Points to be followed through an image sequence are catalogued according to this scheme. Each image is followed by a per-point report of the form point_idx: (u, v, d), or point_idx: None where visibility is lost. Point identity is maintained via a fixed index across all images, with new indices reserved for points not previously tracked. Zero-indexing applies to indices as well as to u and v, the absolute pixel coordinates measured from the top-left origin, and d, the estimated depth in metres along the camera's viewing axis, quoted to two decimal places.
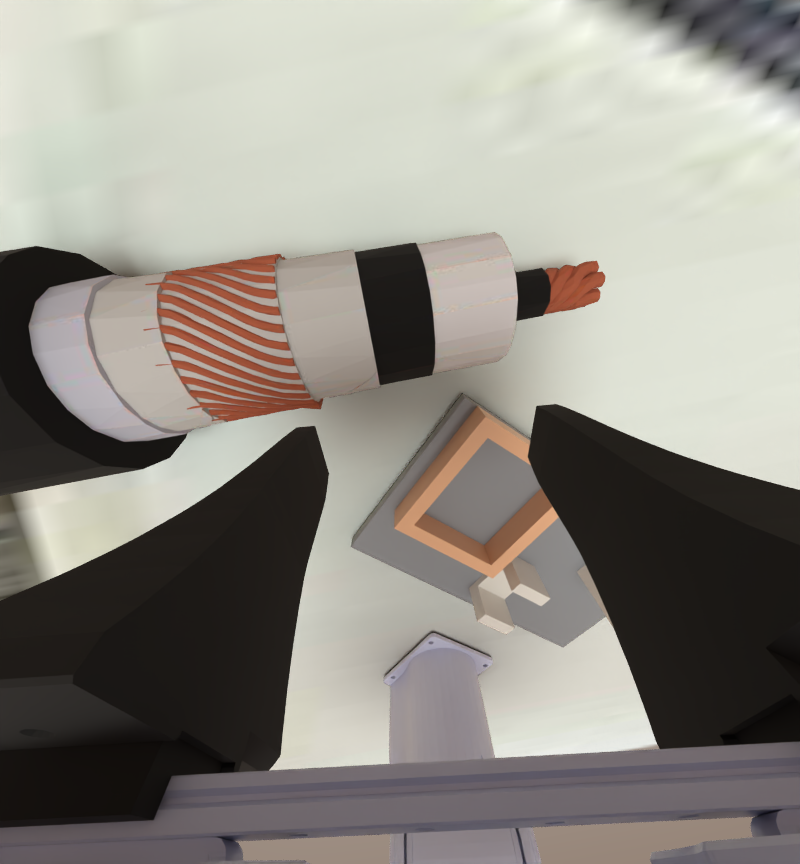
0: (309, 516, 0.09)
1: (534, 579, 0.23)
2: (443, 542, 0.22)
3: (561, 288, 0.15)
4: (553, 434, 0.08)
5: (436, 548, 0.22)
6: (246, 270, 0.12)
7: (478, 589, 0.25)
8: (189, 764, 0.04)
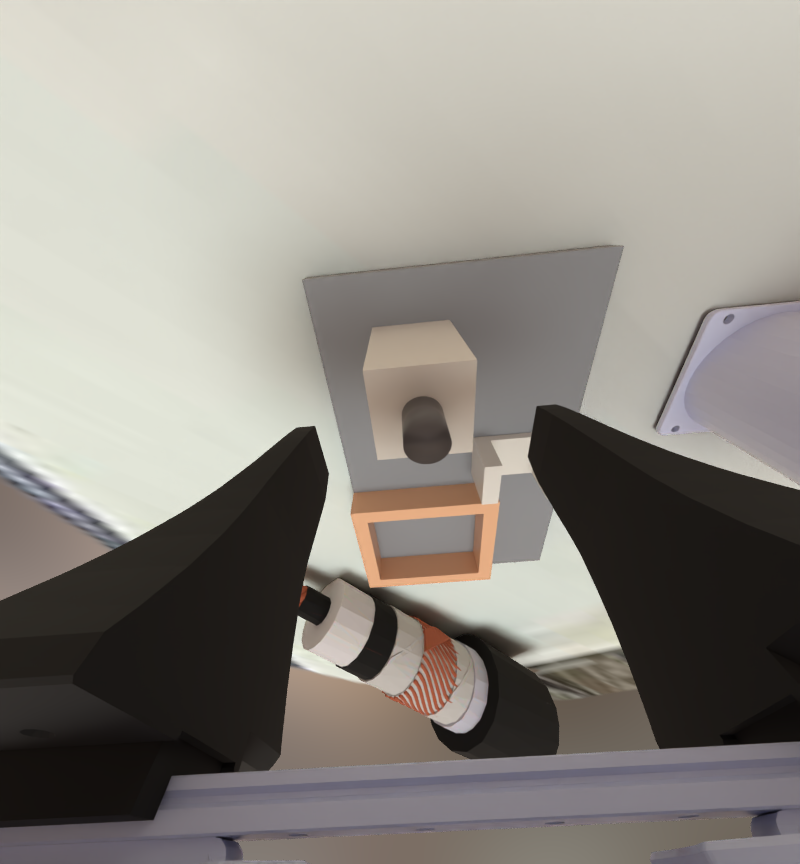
0: (309, 516, 0.09)
1: (478, 465, 0.18)
2: (482, 552, 0.23)
3: None
4: (553, 434, 0.08)
5: (491, 552, 0.23)
6: None
7: (533, 474, 0.20)
8: (190, 763, 0.04)
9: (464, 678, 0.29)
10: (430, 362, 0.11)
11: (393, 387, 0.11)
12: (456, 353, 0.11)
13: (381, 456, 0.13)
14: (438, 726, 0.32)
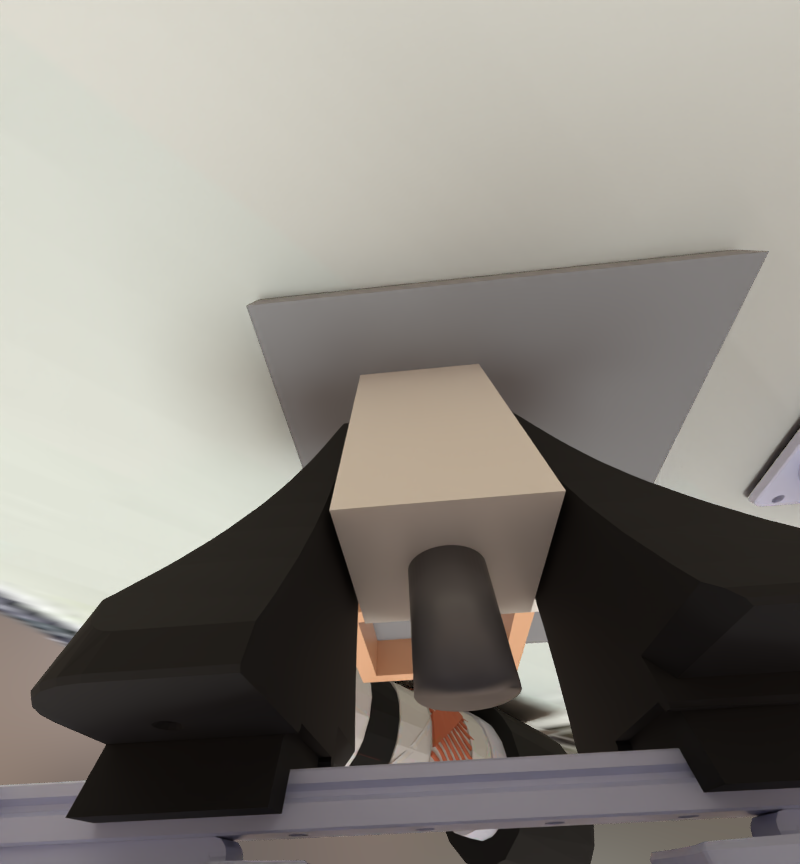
0: None
1: None
2: None
3: None
4: None
5: (521, 649, 0.17)
6: None
7: None
8: (300, 757, 0.04)
9: None
10: (466, 489, 0.05)
11: (392, 533, 0.06)
12: (513, 460, 0.06)
13: (371, 619, 0.07)
14: None
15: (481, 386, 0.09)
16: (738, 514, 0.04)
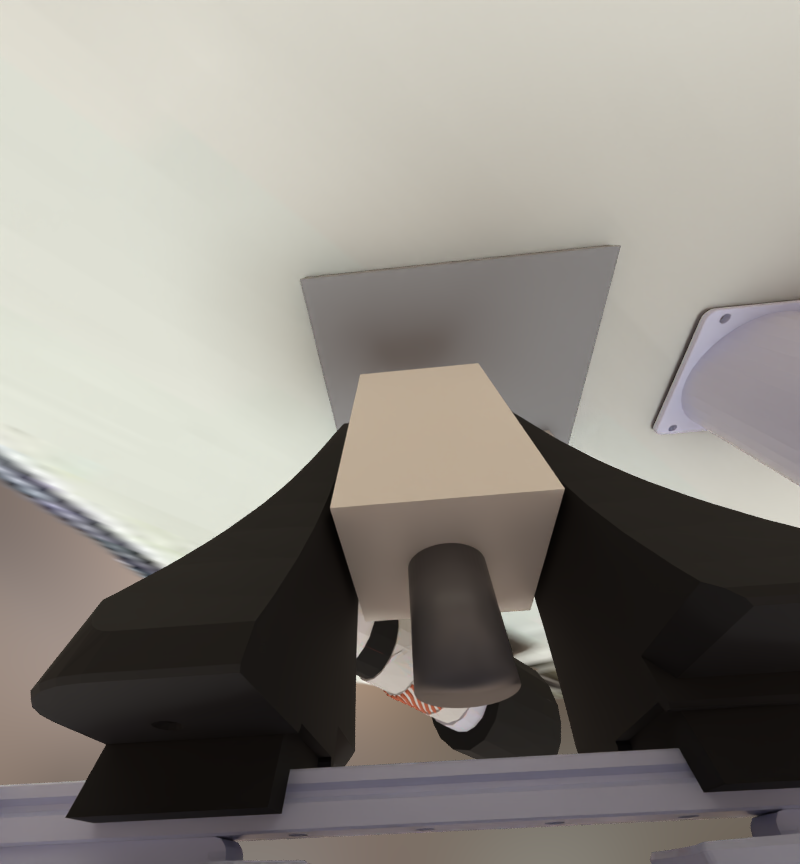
0: None
1: None
2: None
3: None
4: None
5: None
6: None
7: None
8: (299, 758, 0.04)
9: None
10: (466, 487, 0.05)
11: (392, 531, 0.06)
12: (512, 458, 0.06)
13: (371, 617, 0.07)
14: (440, 725, 0.32)
15: (481, 385, 0.09)
16: (740, 514, 0.04)
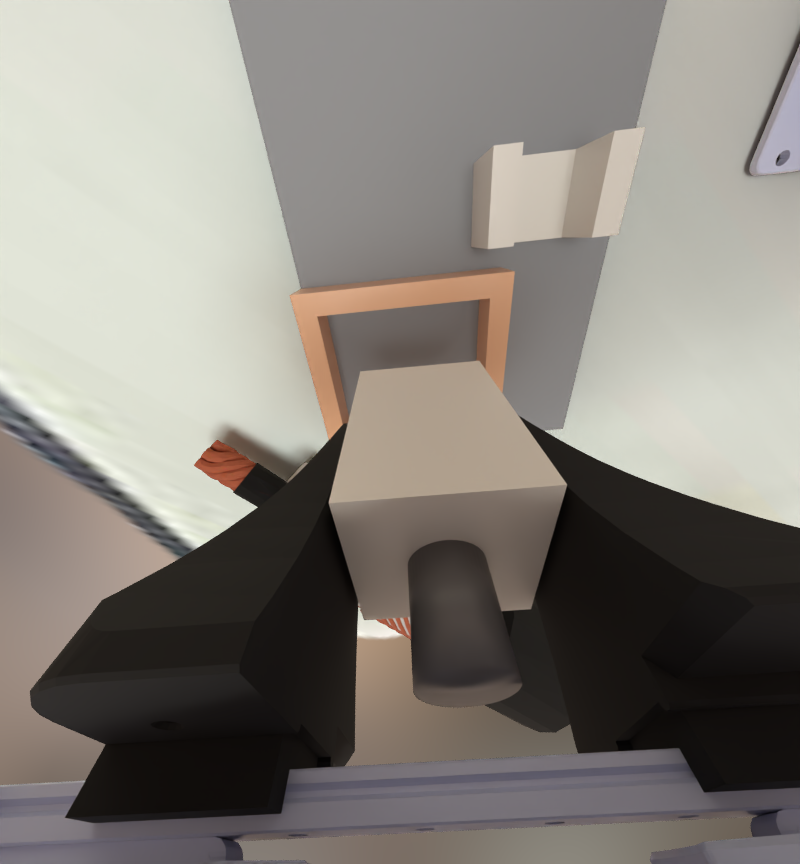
0: None
1: (482, 186, 0.12)
2: None
3: (228, 482, 0.19)
4: None
5: (500, 385, 0.16)
6: None
7: (565, 236, 0.13)
8: (299, 758, 0.04)
9: None
10: (467, 483, 0.05)
11: (392, 527, 0.05)
12: (514, 455, 0.06)
13: (370, 616, 0.07)
14: None
15: (482, 382, 0.09)
16: (739, 514, 0.04)
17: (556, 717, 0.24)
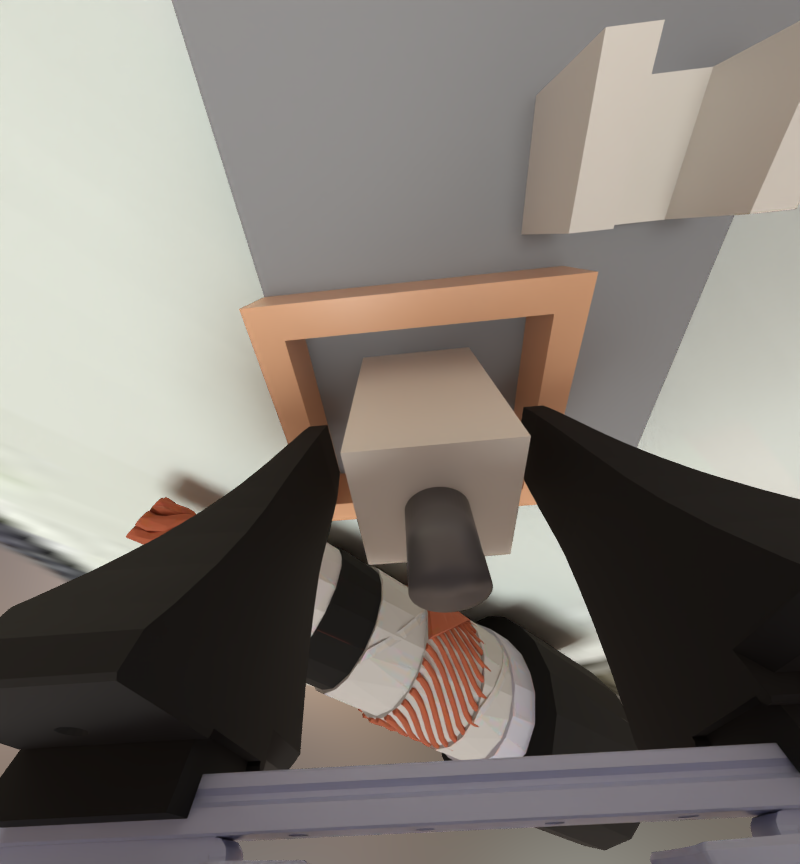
0: (323, 514, 0.09)
1: (560, 124, 0.07)
2: None
3: None
4: (539, 435, 0.08)
5: None
6: None
7: (674, 217, 0.09)
8: (219, 762, 0.04)
9: (497, 684, 0.17)
10: (451, 437, 0.06)
11: (391, 475, 0.07)
12: (491, 417, 0.07)
13: (374, 560, 0.08)
14: None
15: (469, 364, 0.10)
16: None
17: (608, 836, 0.18)
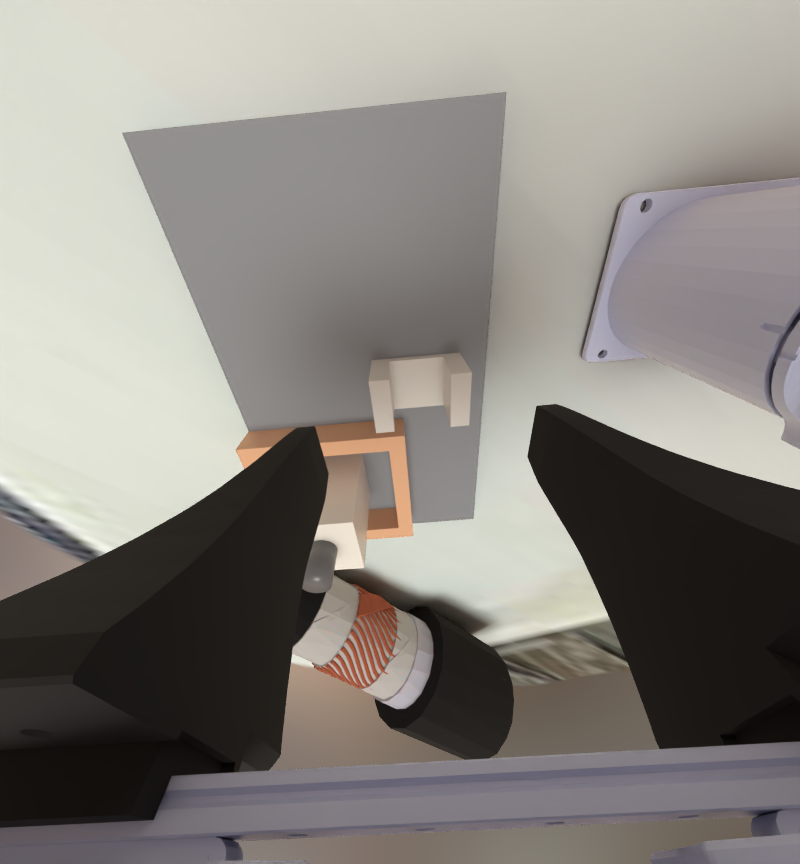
0: (309, 516, 0.09)
1: None
2: (397, 501, 0.20)
3: None
4: (553, 434, 0.08)
5: (408, 502, 0.20)
6: None
7: (444, 406, 0.18)
8: (190, 763, 0.04)
9: (404, 648, 0.27)
10: (323, 521, 0.16)
11: None
12: (344, 510, 0.16)
13: None
14: (381, 703, 0.29)
15: (354, 469, 0.19)
16: None
17: (480, 750, 0.28)
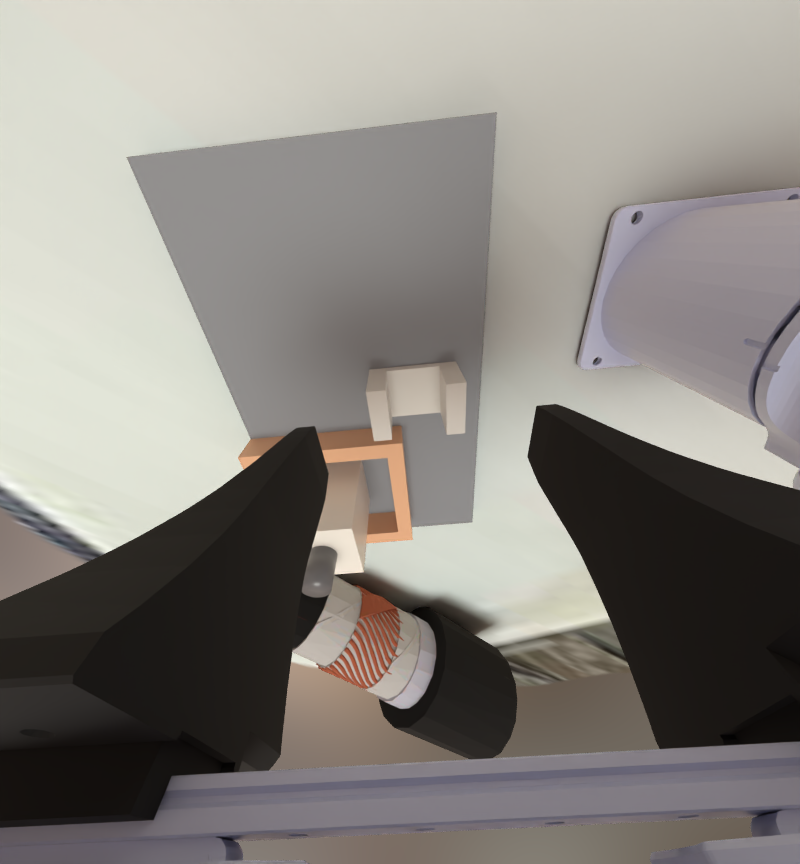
0: (309, 515, 0.09)
1: None
2: (396, 506, 0.21)
3: None
4: (553, 434, 0.08)
5: (407, 507, 0.21)
6: None
7: (441, 414, 0.18)
8: (189, 764, 0.04)
9: (407, 648, 0.27)
10: (322, 527, 0.16)
11: None
12: (343, 516, 0.17)
13: None
14: (385, 703, 0.29)
15: (353, 475, 0.19)
16: None
17: (484, 750, 0.28)
